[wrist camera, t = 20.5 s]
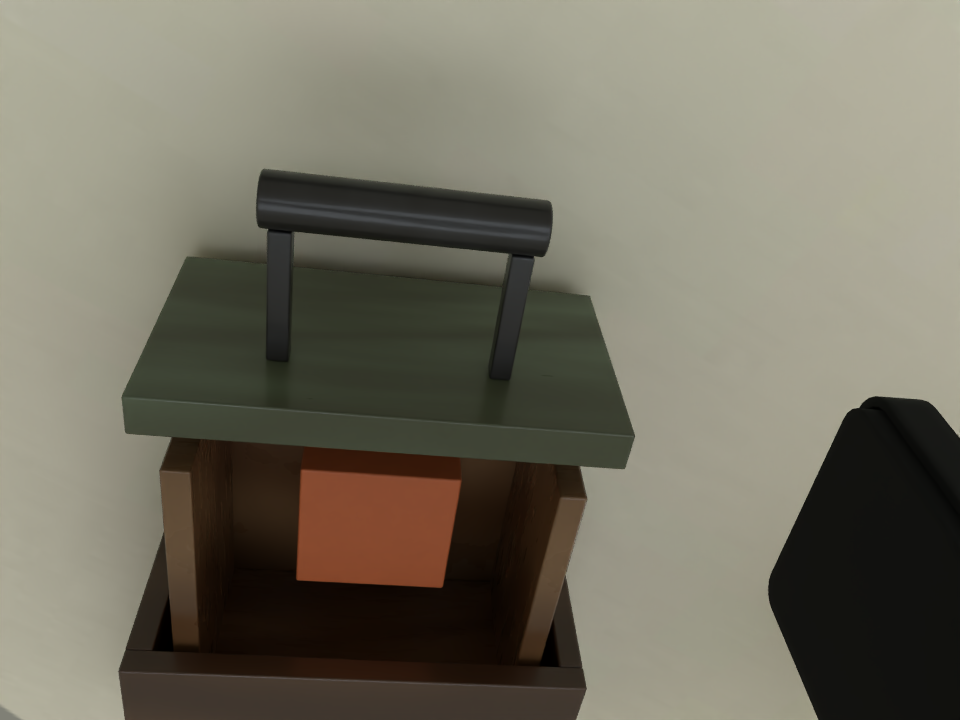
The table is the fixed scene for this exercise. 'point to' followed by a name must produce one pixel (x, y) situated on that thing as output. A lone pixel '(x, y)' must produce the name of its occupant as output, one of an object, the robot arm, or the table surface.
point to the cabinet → (337, 679)
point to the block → (376, 517)
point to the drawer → (374, 425)
